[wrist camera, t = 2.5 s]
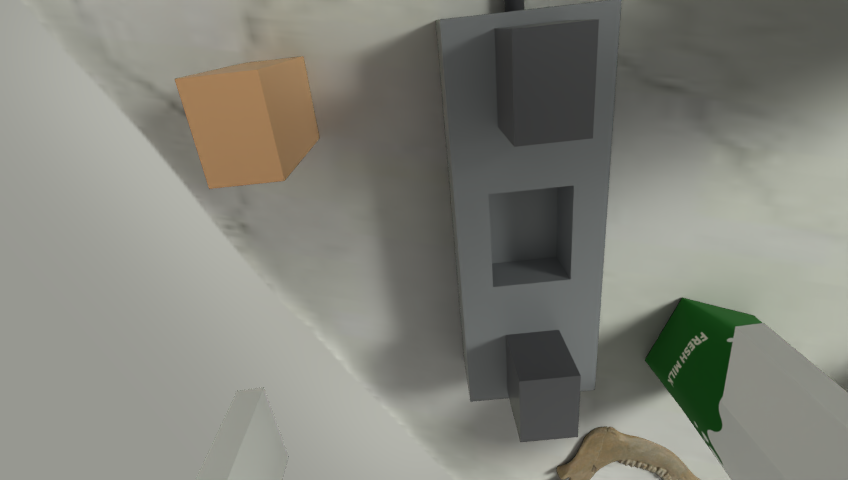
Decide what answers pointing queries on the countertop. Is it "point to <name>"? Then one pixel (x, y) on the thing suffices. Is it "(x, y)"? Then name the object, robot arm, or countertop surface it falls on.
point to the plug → (250, 120)
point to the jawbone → (623, 456)
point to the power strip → (530, 200)
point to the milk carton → (708, 383)
